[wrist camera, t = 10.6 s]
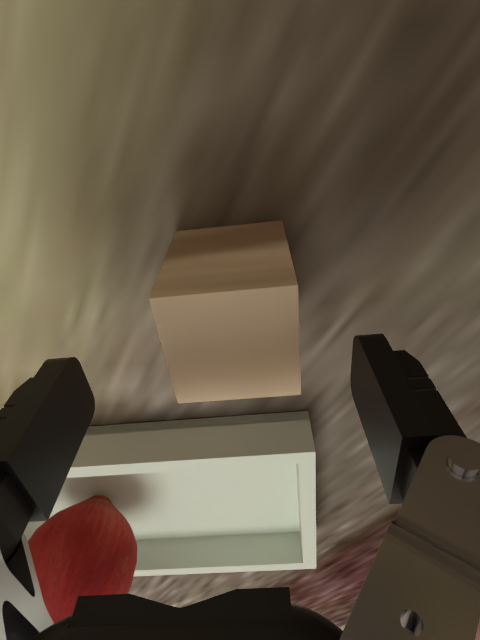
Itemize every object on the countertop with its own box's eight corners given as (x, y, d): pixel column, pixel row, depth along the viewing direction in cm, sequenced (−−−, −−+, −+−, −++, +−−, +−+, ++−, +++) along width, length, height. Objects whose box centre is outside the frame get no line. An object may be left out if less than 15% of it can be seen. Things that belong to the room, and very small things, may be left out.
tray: (-16, 433, 21) (-45, 475, 19) (307, 410, 20) (315, 451, 18) (63, 540, 27) (48, 579, 25) (310, 528, 26) (316, 568, 24)
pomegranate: (158, 521, 25) (126, 691, 18) (71, 524, 25) (9, 691, 18) (137, 466, 21) (88, 647, 15) (37, 471, 22) (-53, 650, 15)
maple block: (175, 230, 14) (148, 298, 10) (282, 219, 14) (298, 285, 10) (194, 318, 17) (177, 403, 12) (286, 310, 16) (300, 394, 12)
